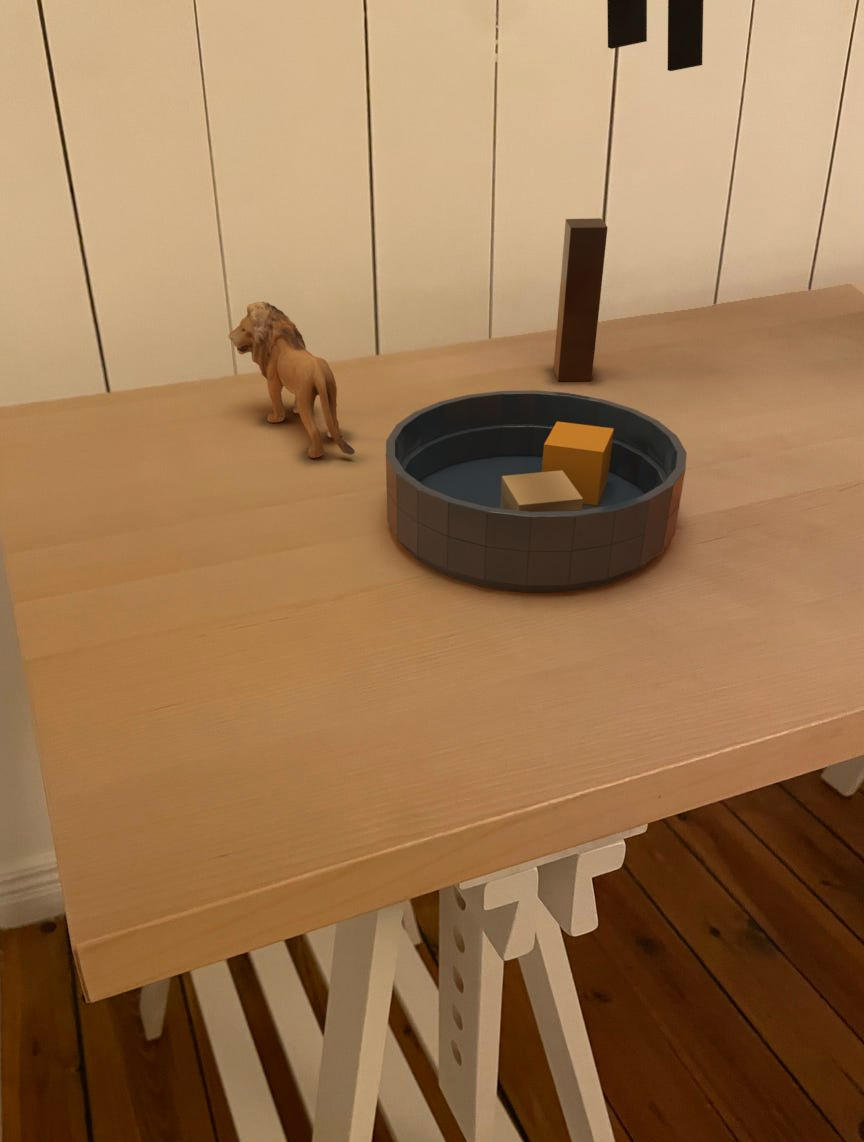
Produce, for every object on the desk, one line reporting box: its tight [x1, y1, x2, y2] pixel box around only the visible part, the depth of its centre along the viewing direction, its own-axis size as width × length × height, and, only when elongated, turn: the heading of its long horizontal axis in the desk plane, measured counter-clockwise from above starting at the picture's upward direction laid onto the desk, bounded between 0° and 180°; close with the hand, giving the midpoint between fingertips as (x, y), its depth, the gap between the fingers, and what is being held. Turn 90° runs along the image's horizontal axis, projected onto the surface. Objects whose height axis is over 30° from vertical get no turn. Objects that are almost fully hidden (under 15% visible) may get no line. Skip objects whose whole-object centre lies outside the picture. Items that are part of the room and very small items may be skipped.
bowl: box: [385, 389, 687, 593], centre depth 67 cm, size 19×19×6 cm
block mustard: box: [542, 422, 614, 506], centre depth 69 cm, size 4×4×4 cm
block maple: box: [500, 470, 583, 512], centre depth 63 cm, size 4×4×4 cm
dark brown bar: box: [553, 217, 609, 382], centre depth 87 cm, size 3×3×13 cm
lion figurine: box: [227, 301, 356, 458], centre depth 79 cm, size 15×5×9 cm, turn 36°
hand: (657, 57), depth 80 cm, fingers open, 13 cm apart
